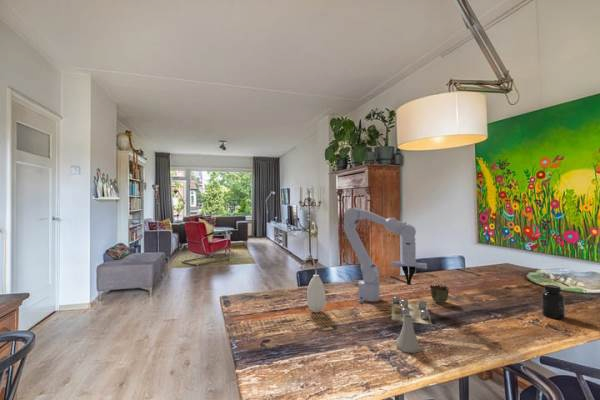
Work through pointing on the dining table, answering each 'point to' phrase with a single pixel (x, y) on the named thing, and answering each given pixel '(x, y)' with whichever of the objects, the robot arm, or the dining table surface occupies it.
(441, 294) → the cup
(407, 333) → the flask
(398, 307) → the brass nut
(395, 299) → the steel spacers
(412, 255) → the robot arm
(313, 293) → the sauce bottle
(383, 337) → the dining table surface
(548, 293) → the supplement bottle
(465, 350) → the dining table surface
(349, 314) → the dining table surface
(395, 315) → the birch board
